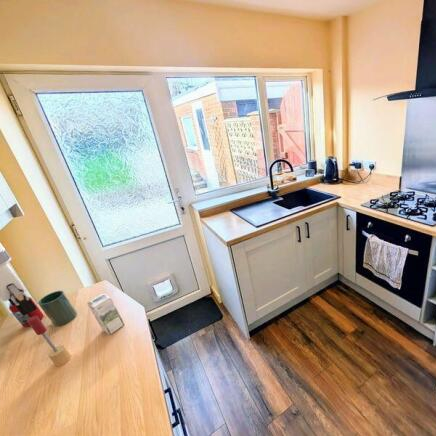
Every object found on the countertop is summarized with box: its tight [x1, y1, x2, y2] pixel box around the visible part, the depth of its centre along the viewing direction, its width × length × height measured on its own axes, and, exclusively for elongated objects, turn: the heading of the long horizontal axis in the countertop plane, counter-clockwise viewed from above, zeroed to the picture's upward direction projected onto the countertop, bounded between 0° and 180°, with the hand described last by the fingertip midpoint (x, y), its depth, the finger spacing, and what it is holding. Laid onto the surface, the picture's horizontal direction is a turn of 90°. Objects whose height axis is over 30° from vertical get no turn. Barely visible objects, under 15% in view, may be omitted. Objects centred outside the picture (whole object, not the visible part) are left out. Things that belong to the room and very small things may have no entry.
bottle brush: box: [27, 316, 72, 367], centre depth 81 cm, size 4×4×20 cm
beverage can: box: [8, 296, 45, 328], centre depth 102 cm, size 7×7×12 cm
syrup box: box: [87, 293, 125, 336], centre depth 94 cm, size 6×6×14 cm
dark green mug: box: [37, 290, 78, 327], centre depth 101 cm, size 8×8×12 cm
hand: (24, 307), depth 75 cm, fingers open, 9 cm apart
